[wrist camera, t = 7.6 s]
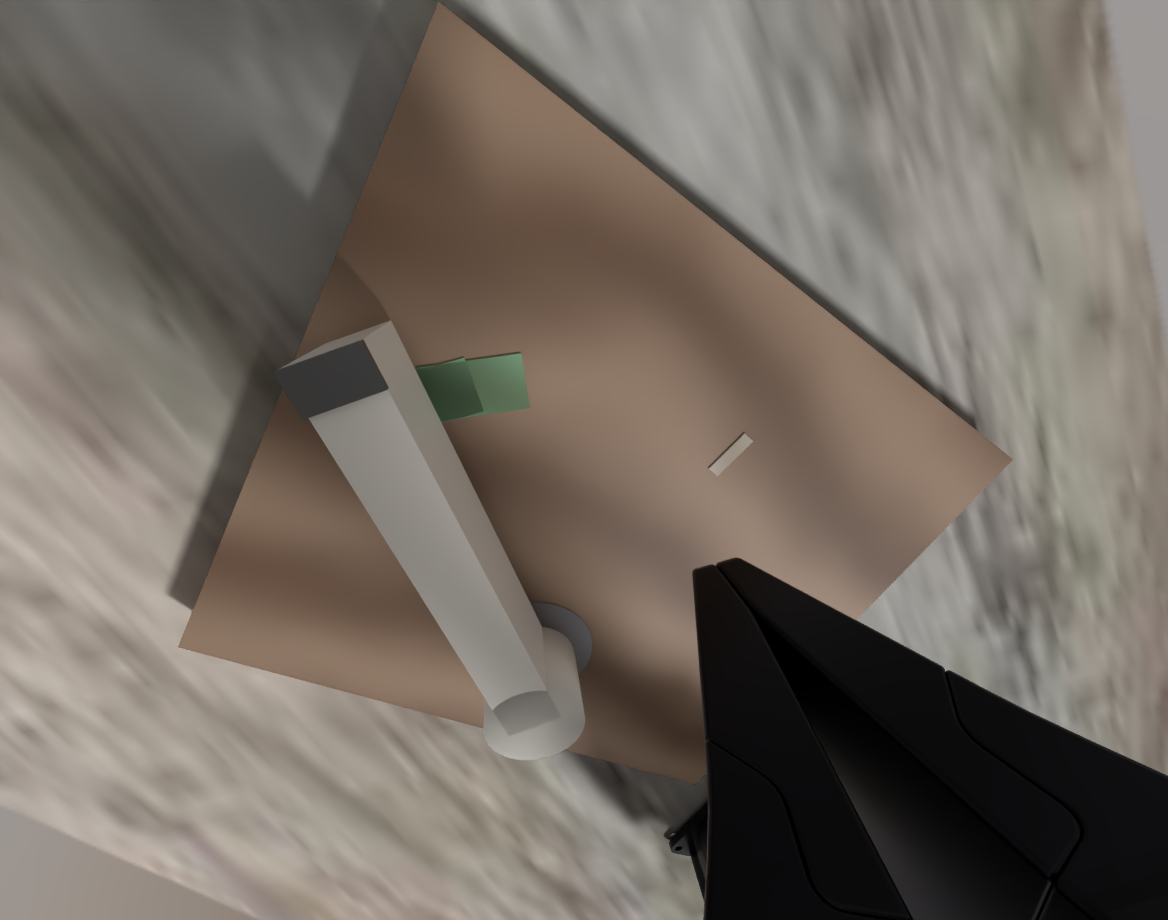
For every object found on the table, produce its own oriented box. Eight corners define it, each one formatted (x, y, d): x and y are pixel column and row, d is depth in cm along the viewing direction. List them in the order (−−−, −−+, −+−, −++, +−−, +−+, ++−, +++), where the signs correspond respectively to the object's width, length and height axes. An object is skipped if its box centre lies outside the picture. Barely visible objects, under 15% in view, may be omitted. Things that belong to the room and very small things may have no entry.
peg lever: (585, 673, 20) (598, 745, 17) (506, 701, 20) (506, 777, 17) (417, 310, 13) (392, 329, 10) (297, 353, 13) (240, 383, 11)
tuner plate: (686, 757, 27) (696, 786, 26) (201, 618, 19) (176, 649, 17) (980, 445, 21) (1015, 460, 19) (446, 27, 12) (437, -1, 11)
